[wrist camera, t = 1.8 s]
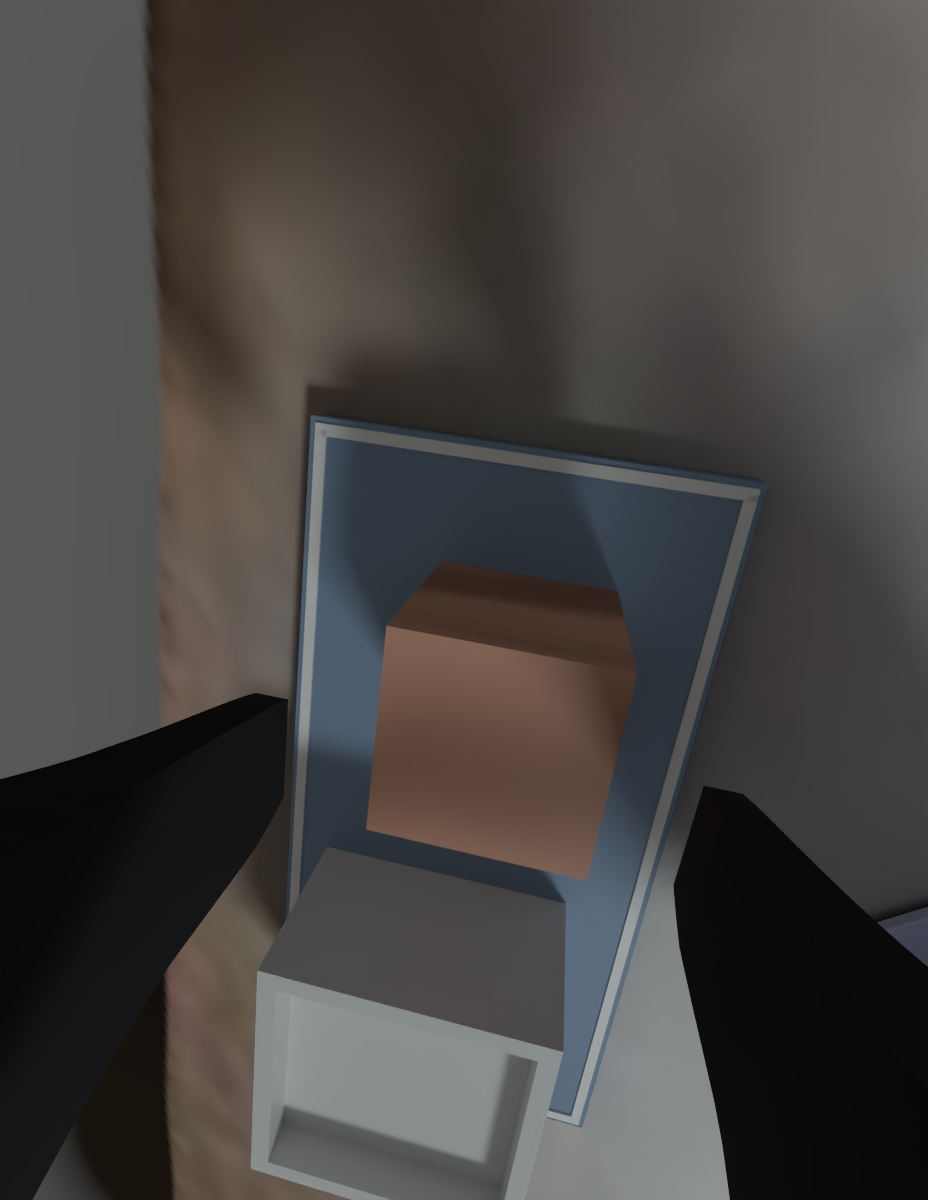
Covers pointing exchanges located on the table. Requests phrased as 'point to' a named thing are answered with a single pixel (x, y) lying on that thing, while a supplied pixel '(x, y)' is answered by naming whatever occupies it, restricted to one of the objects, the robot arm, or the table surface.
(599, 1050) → the board
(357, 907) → the socket pedestal
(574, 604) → the terracotta block
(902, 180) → the table surface
